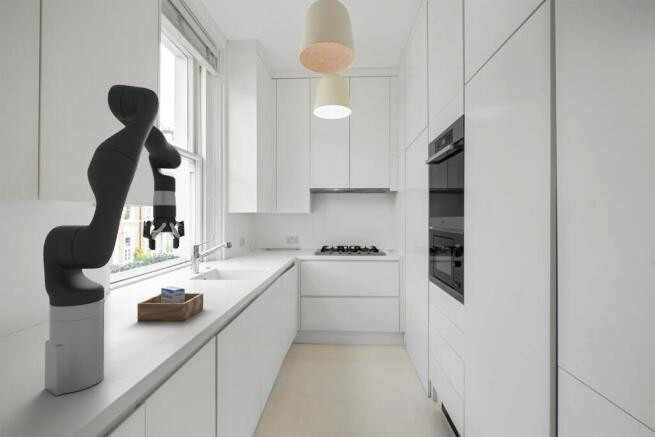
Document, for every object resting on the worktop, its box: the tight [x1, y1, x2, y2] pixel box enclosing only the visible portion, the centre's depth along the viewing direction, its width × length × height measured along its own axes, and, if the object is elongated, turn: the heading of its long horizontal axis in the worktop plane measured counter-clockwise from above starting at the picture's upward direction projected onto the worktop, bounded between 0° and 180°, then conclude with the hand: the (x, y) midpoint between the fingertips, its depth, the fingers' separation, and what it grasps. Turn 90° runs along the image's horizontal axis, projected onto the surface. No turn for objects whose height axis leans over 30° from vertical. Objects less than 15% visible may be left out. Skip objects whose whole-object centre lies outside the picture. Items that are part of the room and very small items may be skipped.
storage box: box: [137, 292, 204, 323], centre depth 118 cm, size 16×16×6 cm
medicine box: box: [160, 286, 186, 303], centre depth 118 cm, size 8×4×9 cm, turn 59°
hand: (164, 249), depth 118 cm, fingers open, 8 cm apart
